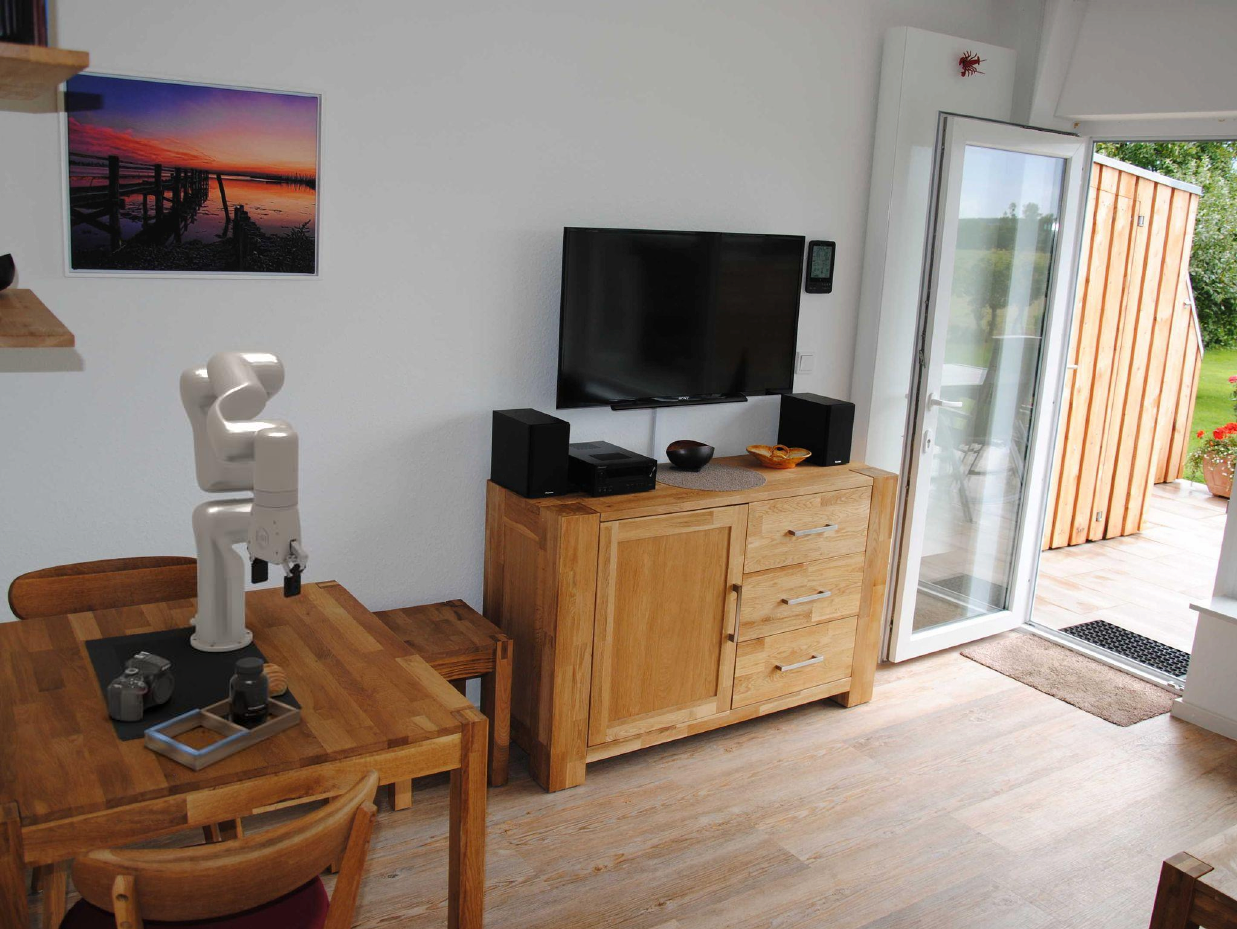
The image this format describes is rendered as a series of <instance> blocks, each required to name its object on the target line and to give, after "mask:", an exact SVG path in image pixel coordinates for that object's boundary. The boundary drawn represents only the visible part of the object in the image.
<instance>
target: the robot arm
mask: <svg viewBox="0 0 1237 929" xmlns="http://www.w3.org/2000/svg"><path fill="white" fill-rule="evenodd" d="M283 363H284V362H282V359H281V358H280V357H279V355H278V354H276V353H275V352H273V351H271V350H262V349H261V350H258V349H257V350H256V349H255V350H252V349H251V350H250V349H249V350H247V349H246V350H243V349H240V350H239V349H238V350H237V349H231V350H222V351H219V352H216V354H214V355H212V356H211V357H210V358H209V359H208V362H207V364H206V365H205V364H204V365H196V366H192V367H191V366H190V367H188V368H186V369H184V371H182V372H181V375H180V378H179V394H180V399H181V404H182V406H183V408H184V412H185V413H186V414H187V417H188V419H189V422H190V423H189V424H190V425H191V429H192V435H193V438H192V440H193V450H194V451H193V452H194V464H195V474H196V475H195V476H196V480H197V485H198V487H199V489H200V490H201V491H202V492H205V493H208V494H228V493H231V494H232V493H242V492H243V493H244V492H251V493H252V494H253V496H252V497H242V498H227V499H226V498H225V499H224V498H223V499H214V500H208V501H204V502H202V503H200V504H198V505H197V506H196V507H195V508H194V509H193V512H192V515H191V524H192V531H193V536H194V541H195V550H196V567H197V568H196V569H197V571H196V572H197V574H196V576H197V577H196V578H197V613H196V614H195V615H194V617H192V618H191V619H190V620H189V624H190V625H192V626H195V632H194V633H193V634H192V635H191V636H190V645H191V646H192V647H193V648H194V649H197V650H199V651H203V652H210V653H211V652H212V653H213V652H214V653H218V652H219V653H222V652H231V651H235V650H239V649H242V648H245V647H246V646H248V645H250V644H251V642H252V641H253V632H252V631H251V630H250V629H248V628H246V568H245V566H246V565H245V561H244V559H243V557H242V556H241V554H240V553H239V552H238V551H237V550H236V549H234V548H233V547H232V546H233V545H238V544H245V543H246V546H247V547H246V550H247V552H248V554H249V557H248V560H249V562H250V567H251V568H250V577H251V578H250V580H251V581H250V582H251V584H253V585H256V584H261V583H265V582H268V580H269V564H271V565H275V566H280V565H281V566H282V569H283V571H284V572H285V575H284V576H283V597H284V598H286V599H289V598H292V597H296V596H300V594H301V592H302V590H301V589H302V575H303V574H304V570H305V569H306V567H307V563H308V560H309V554H308V553H307V552H306V551H305V549H304V548H303V547H302V530H301V519H300V511H299V507H298V506H299V447H300V446H299V445H300V444H299V442H300V441H299V435H298V433H297V431H296V429H295V428H294V427H293V426H292V423H290V422H289V421H287V420H285V419H277V418H276V419H274V418H273V419H255V418H256V417H258V416H259V415H260V414H261V413H262V412H263V411H264V409H266V408H265V407H266V406H267V405H266V404H267V403H268V402H269V401H270V400H271V399H272V398H274V397H275V396H276V395H277V394H278V393H280V391H282V390H281V389H282V388H283V386H284V384H285V379H286V378H285V377H286V374H285V372H286V371H285V367H284V364H283ZM290 564H293V565H292V567H291V566H290Z"/></svg>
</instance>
